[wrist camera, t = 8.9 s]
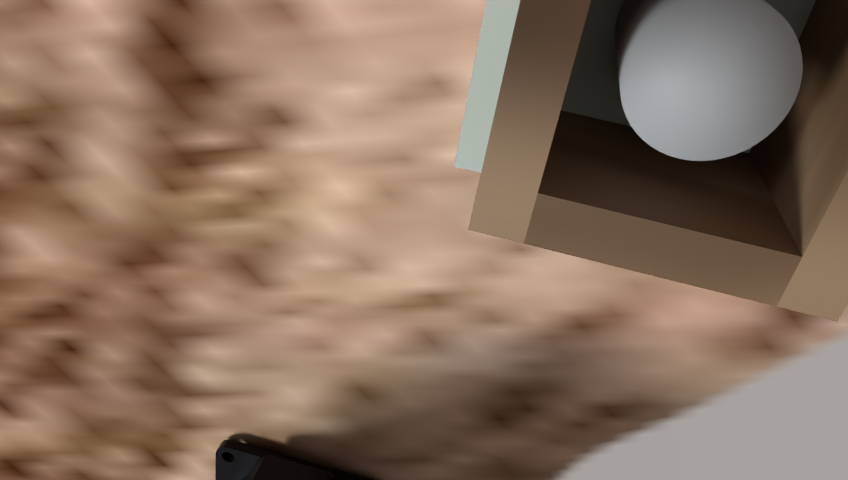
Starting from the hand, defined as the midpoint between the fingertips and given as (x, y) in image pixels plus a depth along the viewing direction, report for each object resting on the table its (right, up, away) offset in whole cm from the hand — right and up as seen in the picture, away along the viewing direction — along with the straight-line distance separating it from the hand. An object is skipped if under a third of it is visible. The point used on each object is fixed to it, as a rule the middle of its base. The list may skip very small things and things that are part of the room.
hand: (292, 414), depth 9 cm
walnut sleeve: (+7, +7, +7) cm, 12 cm away
